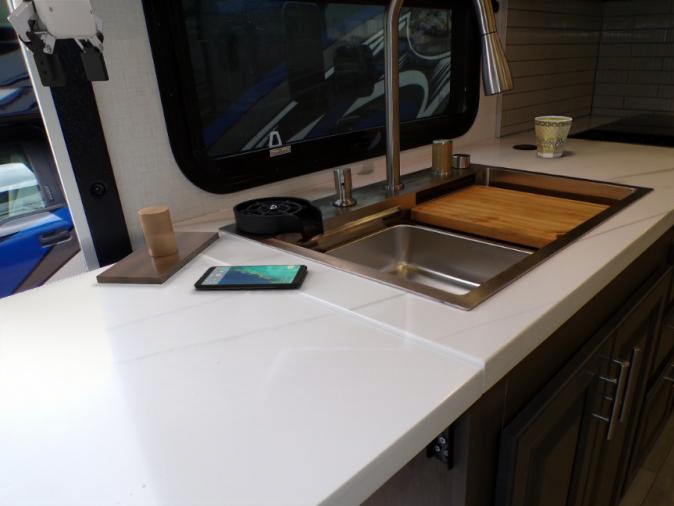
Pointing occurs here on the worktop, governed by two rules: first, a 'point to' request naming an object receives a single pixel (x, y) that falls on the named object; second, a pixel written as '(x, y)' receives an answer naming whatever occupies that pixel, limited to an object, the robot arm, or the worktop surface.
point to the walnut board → (157, 261)
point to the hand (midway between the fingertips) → (78, 83)
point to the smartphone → (252, 277)
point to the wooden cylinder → (158, 231)
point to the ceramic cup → (551, 135)
